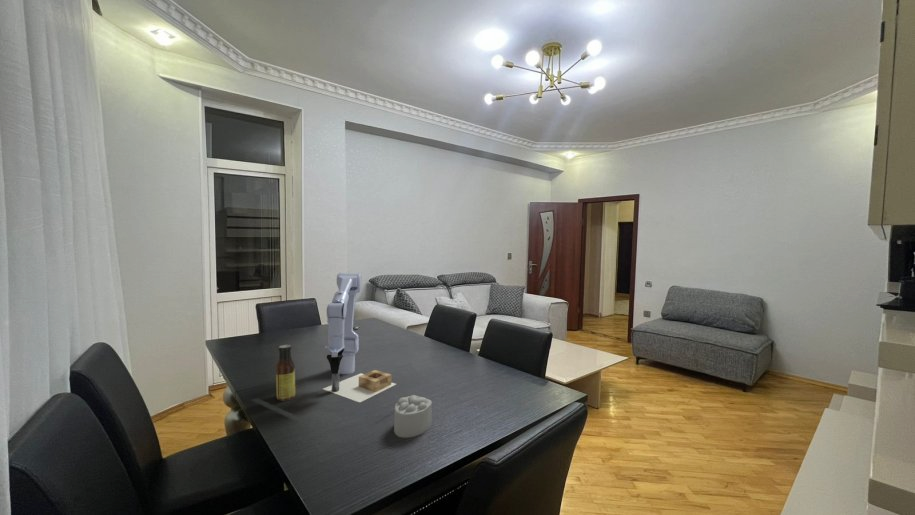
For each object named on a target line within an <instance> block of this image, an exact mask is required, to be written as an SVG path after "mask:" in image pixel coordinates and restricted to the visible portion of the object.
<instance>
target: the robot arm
mask: <svg viewBox="0 0 915 515" xmlns="http://www.w3.org/2000/svg"><path fill="white" fill-rule="evenodd" d="M336 286H337V289H338V291H336V292H335V293H334V295H333V298H332V300H331V302H330V304H327V306H326V318H327V320H326V321H327V324H328V331H327V332H328V335H327V336H328V338H327V339H328V340H327V341H328V342H327V345H325V346H324V349H325V350H328V351H329V353H330V354H327V355H326V360H327V361H328V363H329V366H330V372H331V375H332V374H338V371H339V369H340V375H349V374H354V372H355V369H356V361H355V360H356V359H355V358H356V354H357V353H358V352H359V347H360V340H359V338H360V337H359V334H358V333H357V332H356V331H354V318H355V305H356V304H355V303H356V298H357V297H356V296H357V294H359V293H360V292H361V290H362V274H361V273H360V272H357V273H356V272H355V273H351V272H346V273H345V272H338V273H337V275H336Z"/></svg>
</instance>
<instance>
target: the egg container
mask: <svg viewBox="0 0 915 515" xmlns="http://www.w3.org/2000/svg"><path fill="white" fill-rule="evenodd" d="M432 402H433V401H432V400H431V399H429V398H426V397H424V396H419V395H415V394H412V395H409V396H405V397H404V396H403V397H400V398H399V399H398V401H397V403H395V405H394V414H393V415H394V416H393V418H394V419H393V421H394V422H393V433H394V434H395V436H397V437H399V438H414V437H416V436H420V435H422V434H424V433H425V432H426V431H427V430H429V428H430V427H431V425H432V410H433V409H432V405H433V403H432Z"/></svg>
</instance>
